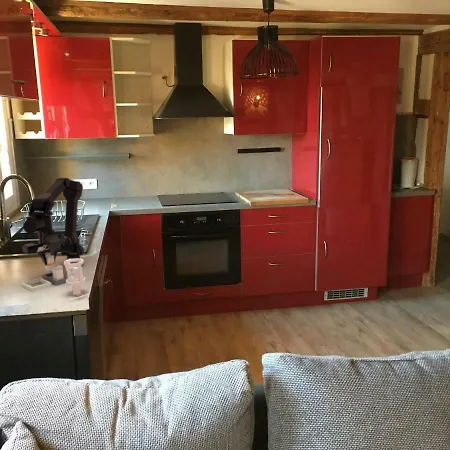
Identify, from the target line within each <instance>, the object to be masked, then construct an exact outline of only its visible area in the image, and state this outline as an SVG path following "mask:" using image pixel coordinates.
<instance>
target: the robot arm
mask: <svg viewBox="0 0 450 450" xmlns="http://www.w3.org/2000/svg"><path fill="white" fill-rule="evenodd" d="M83 190H84V186H83V183H81V181H79V180H73V179H70V178H68V177H58V178H56V179H55V181H54V183H52V184H51V186H50V187H49V188H47V190H46V191H45V192H44V193H42V194H39V195H37V196H35V197H34V198H33V199H32V200H31V203H30V206H29V210H28V216H26V220H25V221H24V222H23V225H22V228H23V230H24V232H25V233H26V234H29V235H32V234H35V233H36V234H38V235H37V236H38V239H37V243H36V244H35V243H33V242H31V243H25V244H23V245H22V247H21V249H22V252H23V253H26V254H28V255H29V254H35V253H37V255H38V256H39V258H40V259H41V261H42V263H43V264H45V265H44V267H45V266H47V261H46V255H47V254H46V253H47V250H45V248H48V249H49V254H52V255H54V262H56V257H57V254H58V252H59V250H60V253H61V256H63V257H64V256H65V257H66V260H69V259H76V258H79V259H81V256H83V255H84V253H85V248H84V247H83V246H82V244H81V243H80V238H79V236H78V234H77V226H78V225H77V223H78V221H77V219H78V202H79V200H80V199H81V197H82V196H83ZM61 194H62V195H63V197H64V199H65V218H64V219H65V221H64V233H60V234H56V232H55V230H54V229H53V222H52V221H53V220H52V216H54V212H52V209H53V208H54V206H55V200H57V198H58V197H59V196H60V195H61ZM73 263H78V262H70V264H73Z"/></svg>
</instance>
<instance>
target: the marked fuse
mask: <svg viewBox="0 0 450 450" xmlns="http://www.w3.org/2000/svg"><path fill="white" fill-rule="evenodd" d="M45 255H46V261H47V266H45V264H44V263H43V264H44V272H45V273H46V274H48V273H52V272H53V271H52V266H55V265H56V263H55V262H56V261H55V262H54V255H52V254H50V253H47V254H45Z"/></svg>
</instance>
